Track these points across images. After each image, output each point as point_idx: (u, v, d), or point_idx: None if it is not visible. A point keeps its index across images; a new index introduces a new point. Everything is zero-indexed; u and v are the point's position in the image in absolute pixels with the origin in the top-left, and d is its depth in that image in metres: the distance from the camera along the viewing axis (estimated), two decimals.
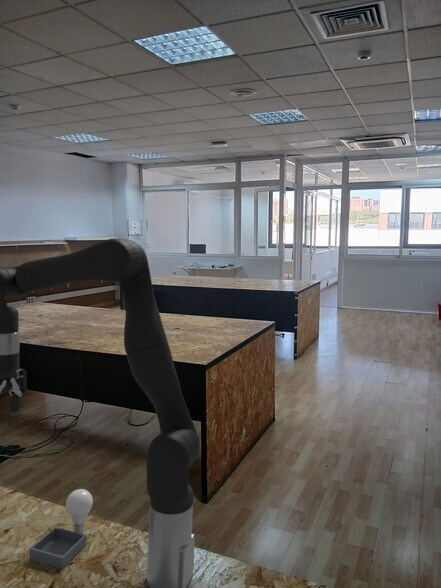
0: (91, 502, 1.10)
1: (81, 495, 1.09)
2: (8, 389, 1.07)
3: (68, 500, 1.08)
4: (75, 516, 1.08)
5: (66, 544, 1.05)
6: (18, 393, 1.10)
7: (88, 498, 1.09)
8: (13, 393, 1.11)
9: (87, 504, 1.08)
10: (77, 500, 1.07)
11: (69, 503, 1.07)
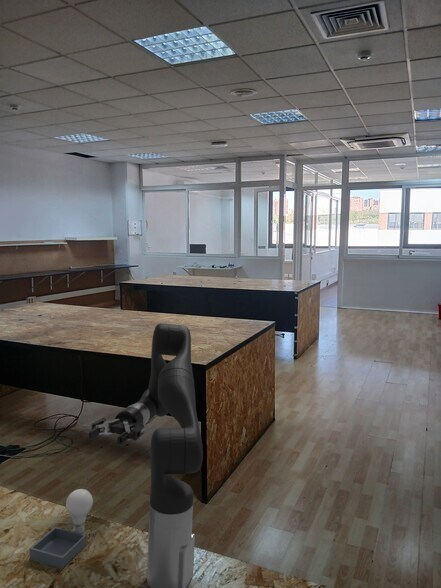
0: (91, 502, 1.10)
1: (81, 495, 1.09)
2: (120, 426, 1.26)
3: (68, 500, 1.08)
4: (75, 516, 1.08)
5: (66, 544, 1.05)
6: (127, 430, 1.23)
7: (88, 498, 1.09)
8: None
9: (87, 504, 1.08)
10: (77, 500, 1.07)
11: (69, 503, 1.07)
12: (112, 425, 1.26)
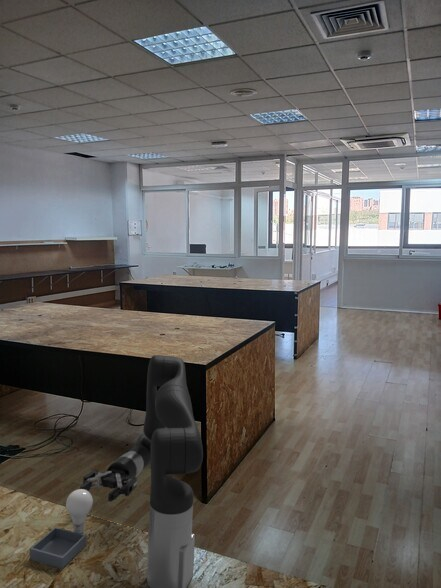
0: (91, 502, 1.10)
1: (81, 495, 1.09)
2: (112, 480, 1.23)
3: (68, 500, 1.08)
4: (75, 516, 1.08)
5: (66, 544, 1.05)
6: (118, 484, 1.20)
7: (88, 498, 1.09)
8: None
9: (87, 504, 1.08)
10: (77, 500, 1.07)
11: (69, 503, 1.07)
12: (104, 478, 1.23)
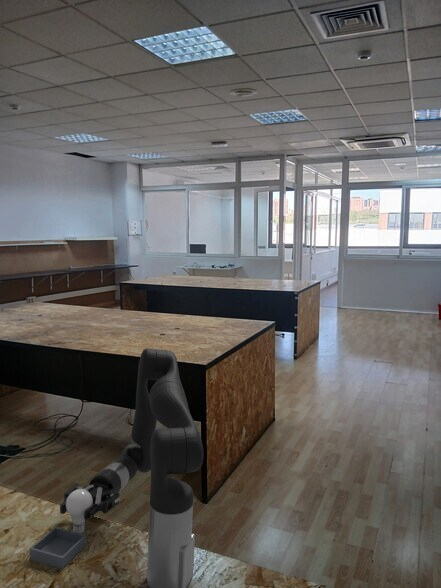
0: (91, 502, 1.10)
1: (81, 495, 1.09)
2: (92, 494, 1.15)
3: (68, 500, 1.08)
4: (75, 516, 1.08)
5: (66, 544, 1.05)
6: (96, 501, 1.11)
7: (88, 498, 1.09)
8: None
9: (87, 504, 1.08)
10: (77, 500, 1.07)
11: (69, 503, 1.07)
12: None
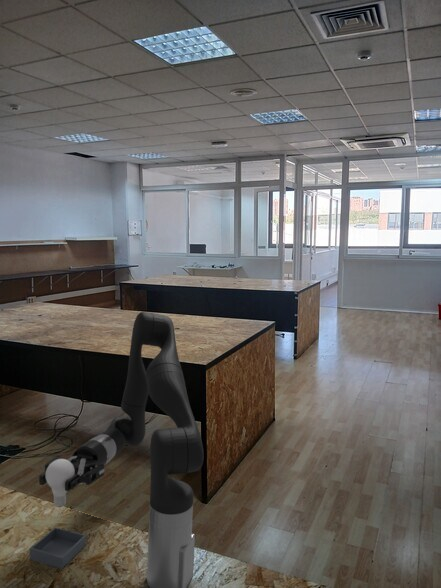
0: (73, 472, 1.01)
1: (62, 464, 1.00)
2: (75, 466, 1.06)
3: (47, 470, 1.00)
4: (55, 487, 1.00)
5: (66, 544, 1.05)
6: (79, 472, 1.03)
7: (69, 468, 1.01)
8: None
9: (68, 474, 1.00)
10: (57, 470, 0.99)
11: (49, 474, 0.99)
12: None
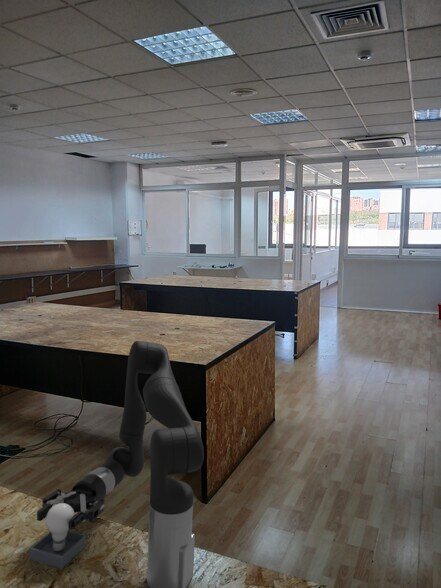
0: None
1: (62, 510, 1.01)
2: (75, 502, 1.07)
3: (48, 515, 1.01)
4: (54, 533, 1.00)
5: (66, 544, 1.05)
6: (82, 508, 1.04)
7: (70, 514, 1.01)
8: None
9: (68, 521, 1.01)
10: (57, 516, 1.00)
11: (49, 519, 1.00)
12: (66, 500, 1.07)
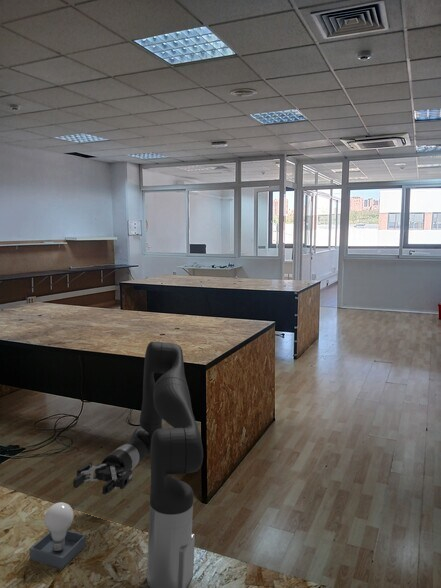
0: (71, 516, 1.02)
1: (61, 509, 1.01)
2: (106, 473, 1.19)
3: (46, 514, 1.01)
4: (54, 532, 1.01)
5: (66, 544, 1.05)
6: (113, 477, 1.16)
7: (68, 512, 1.02)
8: None
9: (67, 519, 1.01)
10: (56, 515, 1.00)
11: (48, 518, 1.00)
12: (98, 471, 1.20)
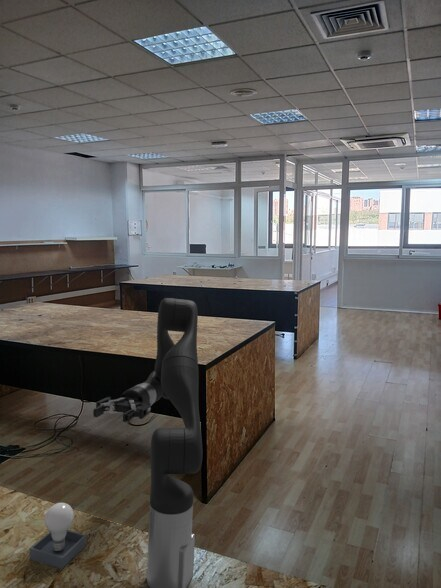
0: (72, 517, 1.02)
1: (61, 509, 1.01)
2: (125, 405, 1.21)
3: (47, 515, 1.01)
4: (54, 532, 1.00)
5: (66, 544, 1.05)
6: (133, 408, 1.18)
7: (69, 512, 1.02)
8: None
9: (67, 519, 1.01)
10: (56, 515, 1.00)
11: (48, 519, 1.00)
12: (117, 403, 1.21)
